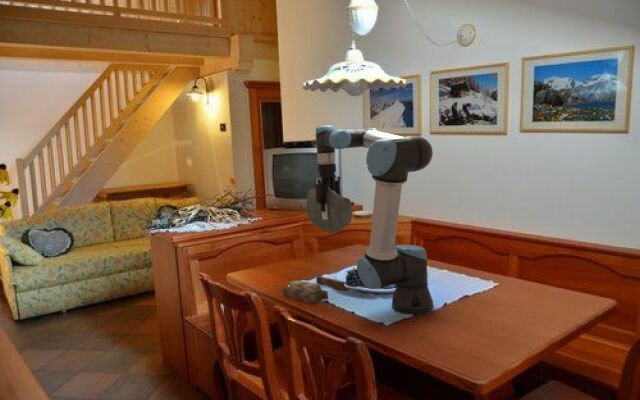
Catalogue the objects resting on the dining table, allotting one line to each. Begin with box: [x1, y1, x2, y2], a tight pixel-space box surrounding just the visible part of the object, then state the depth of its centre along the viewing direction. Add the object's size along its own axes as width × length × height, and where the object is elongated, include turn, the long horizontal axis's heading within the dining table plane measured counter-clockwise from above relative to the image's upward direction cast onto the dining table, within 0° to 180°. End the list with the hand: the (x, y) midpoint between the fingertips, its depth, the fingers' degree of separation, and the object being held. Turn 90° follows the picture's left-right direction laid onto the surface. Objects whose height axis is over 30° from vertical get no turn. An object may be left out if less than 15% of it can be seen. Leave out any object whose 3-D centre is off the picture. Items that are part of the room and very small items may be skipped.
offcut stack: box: [289, 279, 322, 295], centre depth 199 cm, size 14×4×6 cm, turn 51°
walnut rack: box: [282, 275, 350, 305], centre depth 204 cm, size 18×21×3 cm
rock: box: [306, 187, 354, 234], centre depth 205 cm, size 27×6×20 cm, turn 42°
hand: (330, 217), depth 205 cm, fingers closed on rock, 5 cm apart
